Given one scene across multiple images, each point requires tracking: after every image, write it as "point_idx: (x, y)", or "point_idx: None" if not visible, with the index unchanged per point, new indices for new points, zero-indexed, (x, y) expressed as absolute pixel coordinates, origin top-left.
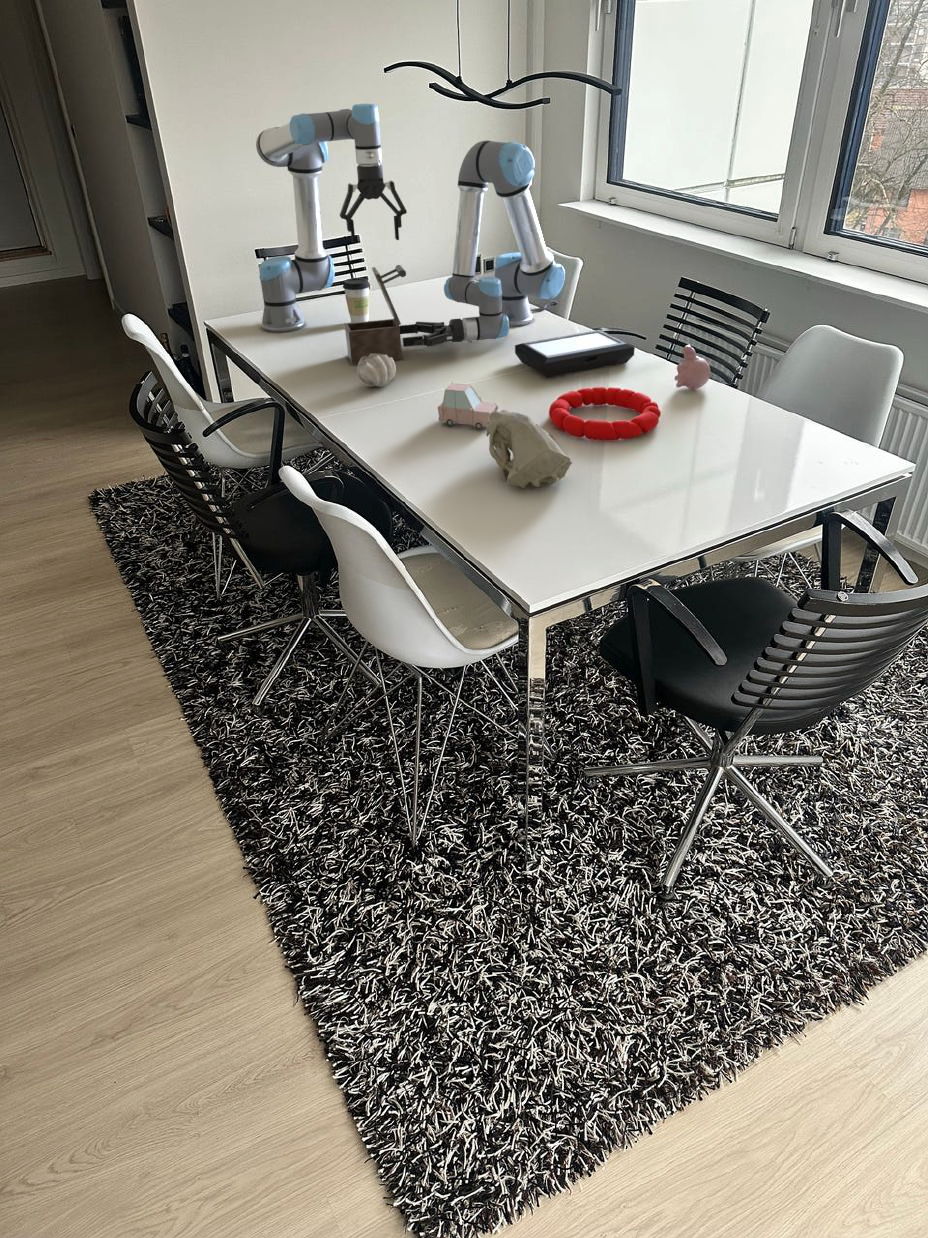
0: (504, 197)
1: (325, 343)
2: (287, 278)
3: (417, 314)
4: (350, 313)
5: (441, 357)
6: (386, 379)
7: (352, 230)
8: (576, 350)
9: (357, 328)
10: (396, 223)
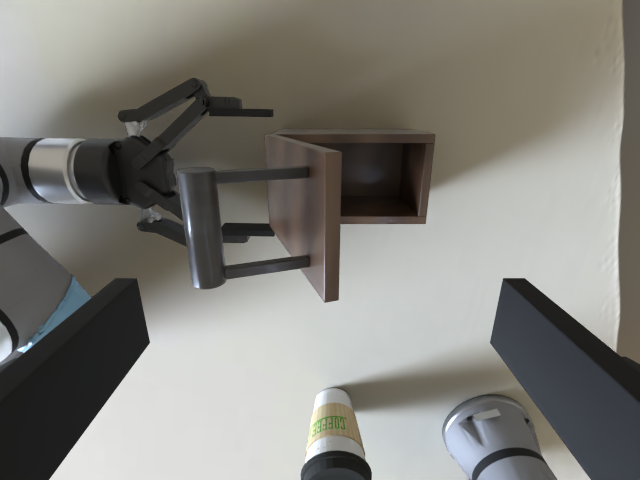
0: None
1: (431, 303)
2: None
3: (207, 420)
4: (354, 414)
5: (180, 113)
6: None
7: (600, 342)
8: None
9: (387, 211)
10: (21, 372)
